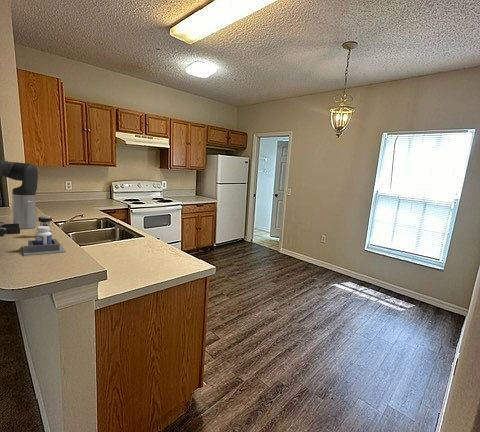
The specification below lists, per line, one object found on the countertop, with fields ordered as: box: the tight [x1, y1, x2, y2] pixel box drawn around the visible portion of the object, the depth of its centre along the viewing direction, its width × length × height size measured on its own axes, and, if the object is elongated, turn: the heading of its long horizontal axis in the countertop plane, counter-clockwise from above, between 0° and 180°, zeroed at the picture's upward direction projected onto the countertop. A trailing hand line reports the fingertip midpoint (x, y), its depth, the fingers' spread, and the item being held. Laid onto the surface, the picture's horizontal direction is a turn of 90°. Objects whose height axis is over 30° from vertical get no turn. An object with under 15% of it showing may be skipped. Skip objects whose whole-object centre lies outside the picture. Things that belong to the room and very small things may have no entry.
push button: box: [37, 214, 53, 233], centre depth 122 cm, size 7×5×10 cm
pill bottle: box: [34, 226, 53, 245], centre depth 104 cm, size 5×5×9 cm
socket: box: [21, 238, 66, 257], centre depth 105 cm, size 13×13×3 cm
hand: (19, 228), depth 99 cm, fingers open, 8 cm apart
